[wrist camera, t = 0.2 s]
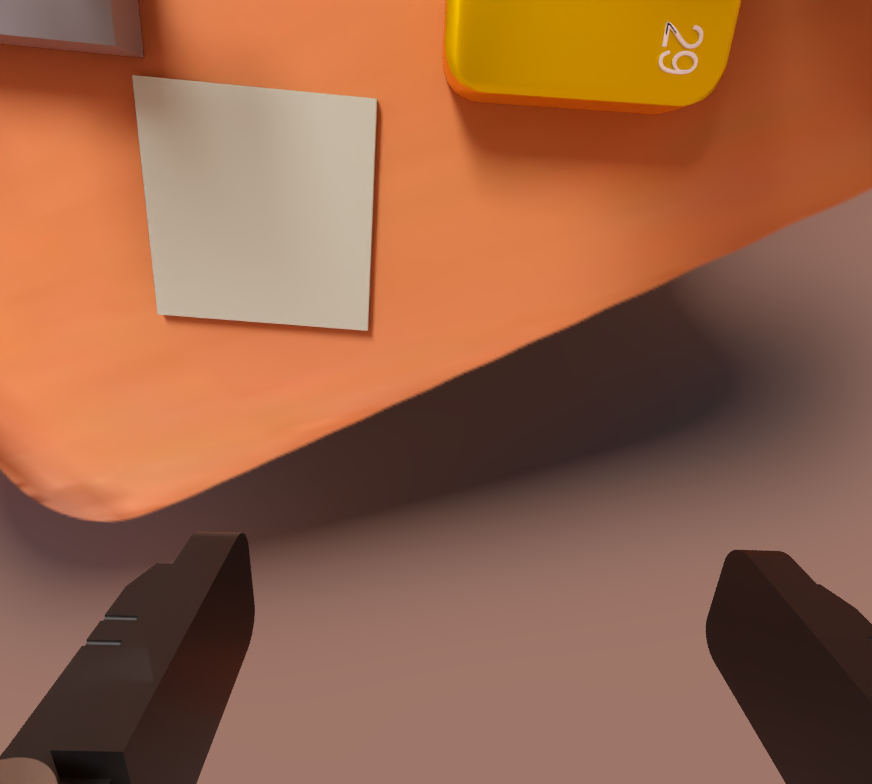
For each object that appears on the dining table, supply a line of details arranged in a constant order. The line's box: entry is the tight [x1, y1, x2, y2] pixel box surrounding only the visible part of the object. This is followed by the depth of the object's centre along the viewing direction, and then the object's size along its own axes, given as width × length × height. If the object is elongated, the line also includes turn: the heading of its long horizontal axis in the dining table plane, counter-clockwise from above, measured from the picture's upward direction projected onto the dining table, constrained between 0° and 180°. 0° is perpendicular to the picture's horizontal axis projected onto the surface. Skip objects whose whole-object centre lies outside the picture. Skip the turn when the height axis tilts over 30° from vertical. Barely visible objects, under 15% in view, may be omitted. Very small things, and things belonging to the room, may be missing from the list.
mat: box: [132, 75, 377, 331], centre depth 34 cm, size 14×14×1 cm
